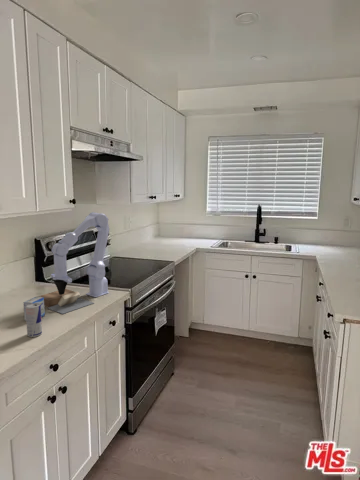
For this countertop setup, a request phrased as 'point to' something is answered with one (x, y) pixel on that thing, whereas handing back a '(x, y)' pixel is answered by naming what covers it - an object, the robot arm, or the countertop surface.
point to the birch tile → (69, 298)
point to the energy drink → (33, 320)
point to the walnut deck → (53, 297)
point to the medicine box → (35, 300)
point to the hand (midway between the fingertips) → (61, 294)
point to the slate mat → (70, 306)
